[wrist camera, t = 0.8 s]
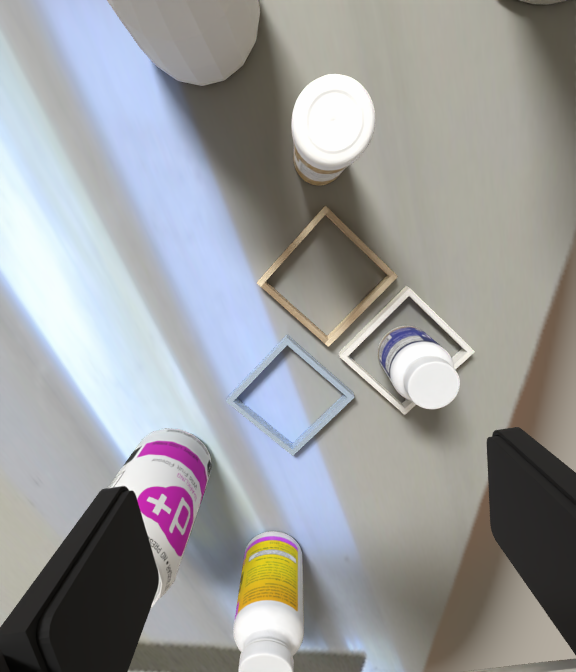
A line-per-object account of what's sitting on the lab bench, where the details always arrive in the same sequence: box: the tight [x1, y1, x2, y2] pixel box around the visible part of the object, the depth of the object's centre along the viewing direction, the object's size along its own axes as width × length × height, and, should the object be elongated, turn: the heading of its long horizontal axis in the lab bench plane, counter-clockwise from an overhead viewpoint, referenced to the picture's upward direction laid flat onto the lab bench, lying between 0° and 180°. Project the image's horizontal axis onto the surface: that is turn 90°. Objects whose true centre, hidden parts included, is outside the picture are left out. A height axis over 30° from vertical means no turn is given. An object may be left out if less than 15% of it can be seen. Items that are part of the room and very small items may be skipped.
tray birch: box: [257, 206, 398, 347], centre depth 36 cm, size 9×9×1 cm
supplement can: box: [108, 428, 212, 608], centre depth 35 cm, size 8×8×15 cm
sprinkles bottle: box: [291, 74, 375, 186], centre depth 27 cm, size 5×5×14 cm
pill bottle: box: [378, 326, 460, 409], centre depth 34 cm, size 5×5×9 cm
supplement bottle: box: [234, 531, 304, 672], centre depth 39 cm, size 7×7×13 cm
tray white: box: [339, 286, 475, 415], centre depth 38 cm, size 9×9×1 cm
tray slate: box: [226, 335, 354, 456], centre depth 39 cm, size 9×9×1 cm
